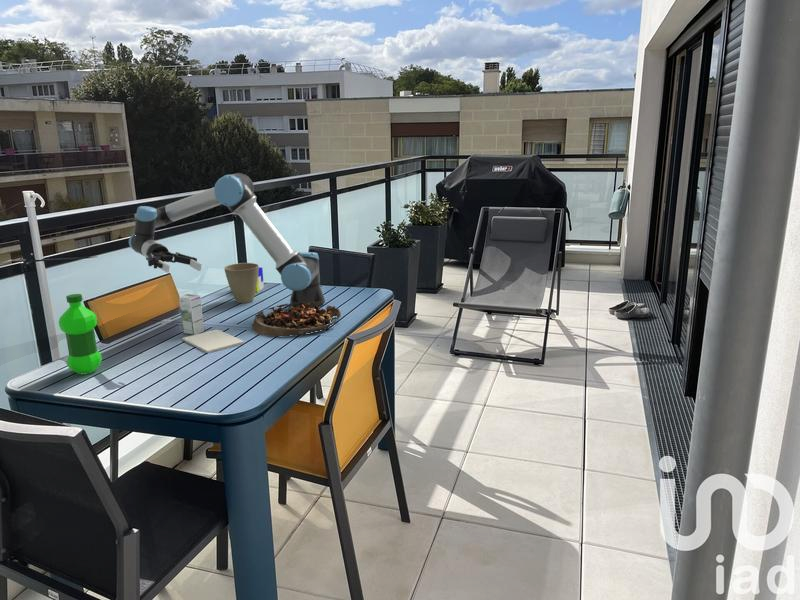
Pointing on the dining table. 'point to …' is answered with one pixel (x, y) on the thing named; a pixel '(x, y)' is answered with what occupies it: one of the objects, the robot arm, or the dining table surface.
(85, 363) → the plastic bottle
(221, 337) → the mat
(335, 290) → the dining table surface
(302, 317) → the food dish
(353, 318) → the dining table surface
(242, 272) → the plant pot
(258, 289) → the puzzle toy
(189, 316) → the syrup box
